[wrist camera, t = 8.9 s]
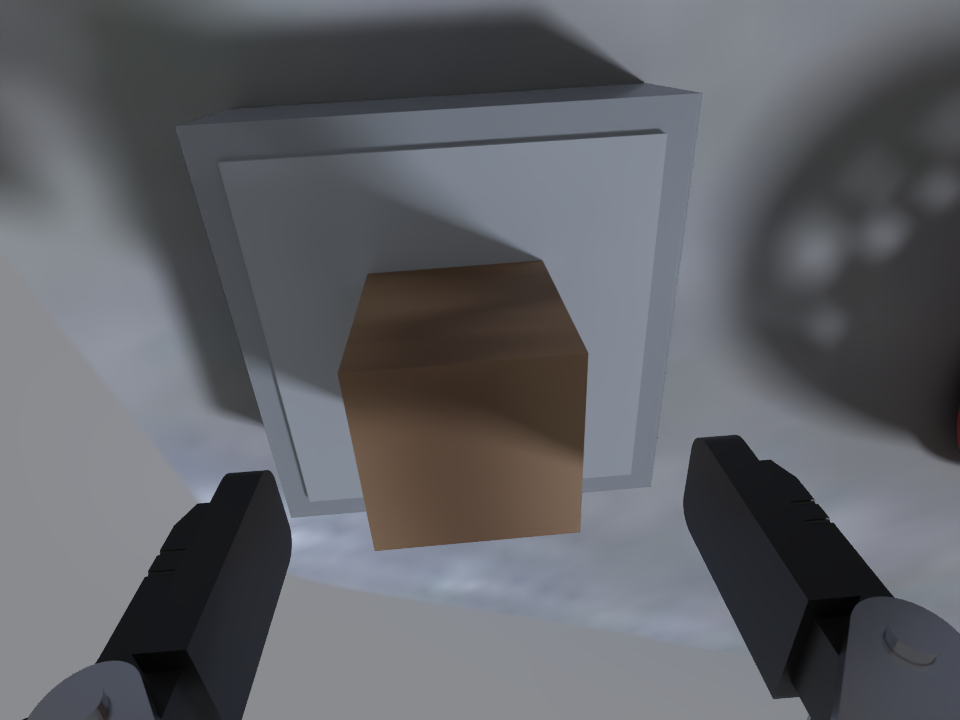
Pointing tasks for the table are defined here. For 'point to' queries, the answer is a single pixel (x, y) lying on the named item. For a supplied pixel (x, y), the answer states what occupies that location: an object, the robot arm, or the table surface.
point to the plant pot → (958, 428)
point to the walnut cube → (466, 405)
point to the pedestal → (447, 245)
